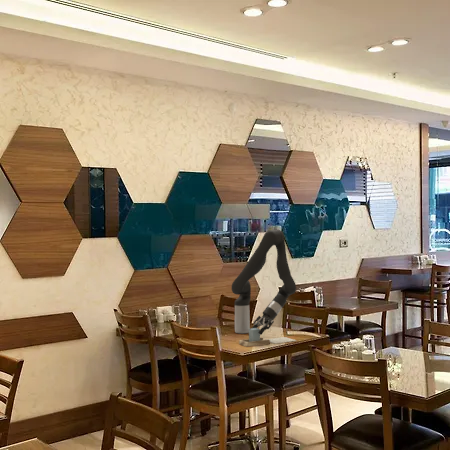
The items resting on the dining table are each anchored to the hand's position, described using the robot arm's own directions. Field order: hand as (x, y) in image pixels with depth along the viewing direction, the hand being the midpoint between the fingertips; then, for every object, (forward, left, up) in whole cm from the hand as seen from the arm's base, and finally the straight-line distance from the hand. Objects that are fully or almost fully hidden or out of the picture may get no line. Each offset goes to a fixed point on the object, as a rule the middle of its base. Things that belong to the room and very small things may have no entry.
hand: (255, 332), depth 329 cm
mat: (0, +16, -6) cm, 17 cm away
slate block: (0, -1, -6) cm, 6 cm away
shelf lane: (0, -1, -6) cm, 6 cm away
